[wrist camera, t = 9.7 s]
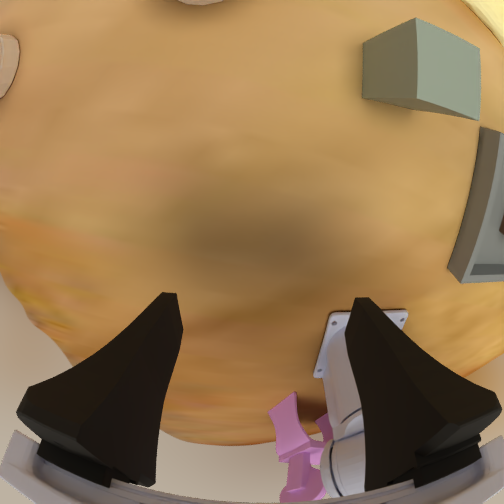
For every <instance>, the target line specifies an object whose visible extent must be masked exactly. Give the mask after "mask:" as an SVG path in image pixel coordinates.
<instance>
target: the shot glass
mask: <svg viewBox="0 0 504 504" xmlns="http://www.w3.org/2000/svg"><path fill="white" fill-rule="evenodd" d="M179 1H181V2H183V3H185V4H193V5H207V4H212V3H217V2H221V1H223V0H179Z"/></svg>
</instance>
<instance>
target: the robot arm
mask: <svg viewBox="0 0 504 504" xmlns="http://www.w3.org/2000/svg"><path fill="white" fill-rule="evenodd" d="M407 317H408V312H407V310H390V311H382V310H381V309H380V308H379V307H378V306H377V305H376V304H375V303H374V302H373V301H372V300H371V299H370V298H369V297H364V298H355V300H354V303H353V307H352V310H351V312H335V313H332V314H331V315H330V316H329V320H328V324H327V327H326V331H325V335H324V338H323V342H322V346H321V349H320V353H319V356H318V359H317V363H316V366H315V369H314V372H313V376H314V377H315V378H323V384H324V390H325V397H326V403H327V410H328V416H329V421H330V424H331V426H332V430H333V438H334V439H331V440H329V441H328V442H327V443H326V445H325V447H324V450H323V452H322V454H321V459H320V473H321V479H322V482H323V485H324V487H325V490H326V491H327V493H328V494H329V495H330V497H331V498H329V499H321V500H313V501H302V502H285V503H241V502H226V501H215V500H206V499H198V498H191V497H185V496H179V495H174V494H169V493H164V492H160V491H155V490H151V489H147V488H143V487H139V486H136V485H142V486H145V487H150V486H152V485H154V484H155V482H156V481H155V478H156V457H157V445H158V436H159V429H160V421H161V415H162V409H163V404H164V399H165V395H166V392H167V389H168V385H169V382H170V379H171V376H172V373H173V369H174V366H175V363H176V360H177V357H178V353H179V350H180V345H181V339H182V334H183V325H182V321H181V316H180V310H179V305H178V300H177V294H176V293H165V292H162V293H161V294H160V295H159V296H158V297H157V298H156V299H155V300H154V301H153V302H152V303H151V304H150V305H149V306H148V307H147V308H146V309H145V310H144V311H143V312H142V313H141V314H140V315H139V316H138V317H137V318H136V319H135V320H134V321H133V322H132V323H131V324H130V325H129V326H128V327H126V328H125V329H124V330H123V331H122V332H121V333H120V334H119V335H117V336H116V337H115V338H114V339H113V340H112V341H110V342H109V343H108V344H107V345H105V346H104V347H103V348H101V349H100V350H99V351H97V352H96V353H95V354H93V355H92V356H90V357H89V358H87V359H85V360H84V361H82V362H81V363H79V364H77V365H76V366H74V367H72V368H71V369H69V370H67V371H65V372H63V373H61V374H59V375H57V376H55V377H53V378H51V379H48V380H46V381H43V382H41V383H38V384H36V385H33V386H30V387H29V388H28V389H27V391H26V393H25V395H24V397H23V399H22V401H21V403H20V405H19V407H18V409H17V411H16V413H17V416H18V418H19V419H20V420H21V421H22V422H23V423H24V424H25V425H26V426H27V427H28V428H29V429H31V430H32V431H33V432H34V433H35V434H36V435H38V436H39V437H40V438H41V439H42V440H41V443H40V444H39V443H37V442H36V441H34V440H32V439H31V438H29V437H27V436H26V435H24V434H22V433H21V432H19V431H17V430H14V433H13V435H12V437H11V440H10V442H9V445H8V447H7V450H6V452H5V455H4V458H3V460H2V463H1V466H0V477H1V478H2V479H3V480H4V481H6V482H7V483H8V484H10V485H11V486H12V487H13V488H15V489H16V490H17V491H19V492H20V493H21V494H23V495H24V496H25V497H27V498H28V499H29V500H31V501H32V502H34V503H35V504H483V503H484V502H486V501H487V500H489V499H490V498H491V497H493V496H494V495H495V494H497V493H498V492H499V491H501V490H502V489H503V488H504V440H503V437H502V436H498V437H497V438H495V439H493V440H492V441H490V442H488V443H486V444H485V445H483V446H481V447H480V448H479V446H478V442H480V441H481V437H480V434H479V433H480V432H482V431H483V430H484V429H485V428H486V427H487V426H489V425H490V424H491V423H492V422H493V421H494V420H495V419H496V418H497V417H498V416H499V415H500V413H501V411H502V407H501V405H500V403H499V400H498V398H497V396H496V394H495V392H493V391H491V390H488V389H486V388H483V387H481V386H479V385H476V384H474V383H472V382H470V381H468V380H467V379H465V378H463V377H461V376H459V375H458V374H456V373H454V372H453V371H451V370H450V369H448V368H447V367H445V366H444V365H442V364H441V363H439V362H438V361H436V360H435V359H434V358H433V357H431V356H430V355H429V354H427V353H426V352H425V351H424V350H422V349H421V348H420V347H419V346H418V345H417V344H416V343H414V342H413V341H412V340H411V339H410V338H409V337H408V336H407V335H406V334H405V333H404V332H403V331H402V328H403V326H404V323H405V321H406V319H407ZM334 321H336V322H334ZM129 483H132V484H135V485H132V484H129Z"/></svg>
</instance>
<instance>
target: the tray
mask: <svg viewBox="0 0 504 504" xmlns="http://www.w3.org/2000/svg"><path fill="white" fill-rule="evenodd" d="M503 215H504V134H503V133H501V132H498V131H495V130H491V129H487V128H484V127H480V136H479V144H478V151H477V158H476V164H475V170H474V175H473V180H472V185H471V190H470V194H469V198H468V202H467V206H466V210H465V214H464V218H463V221H462V225H461V228H460V232H459V235H458V238H457V241H456V244H455V247H454V250H453V253H452V256H451V259H450V261H449V264H448V267H447V268H448V269H449V270H450V272H451V273H452V274H453V275H454V276H455V277H456V279H457V280H458V281H459V282H460V283H481V282H498V281H504V235H503V234H502V233H501V232H500V231H499V228H500V225H501V222H502V218H503Z"/></svg>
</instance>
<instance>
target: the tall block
mask: <svg viewBox="0 0 504 504" xmlns="http://www.w3.org/2000/svg"><path fill="white" fill-rule="evenodd" d="M362 98H364V99H369V100H374V101H379V102H384V103H388V104H392V105H397V106H401V107H405V108H409V109H412V110H419V111H427V112H434V113H440V114H446V115H452V116H457V117H463V118H467V119H472V120H477V121H479V119H480V102H481V64H480V49H479V48H478V47H476V46H474V45H472V44H471V43H469V42H467V41H465V40H463V39H461V38H460V37H458V36H456V35H454V34H452V33H450V32H448V31H445V30H443V29H441V28H439V27H437V26H435V25H432V24H430V23H428V22H425V21H423V20H420V19H418V18H414V19H411V20H409V21H407V22H404V23H402V24H400V25H398V26H396V27H394V28H392V29H390V30H387V31H385V32H383V33H381V34H379V35H377V36H375V37H374V38H372V39H370V40H368V41H366V42H364V43H363V80H362Z"/></svg>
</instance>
